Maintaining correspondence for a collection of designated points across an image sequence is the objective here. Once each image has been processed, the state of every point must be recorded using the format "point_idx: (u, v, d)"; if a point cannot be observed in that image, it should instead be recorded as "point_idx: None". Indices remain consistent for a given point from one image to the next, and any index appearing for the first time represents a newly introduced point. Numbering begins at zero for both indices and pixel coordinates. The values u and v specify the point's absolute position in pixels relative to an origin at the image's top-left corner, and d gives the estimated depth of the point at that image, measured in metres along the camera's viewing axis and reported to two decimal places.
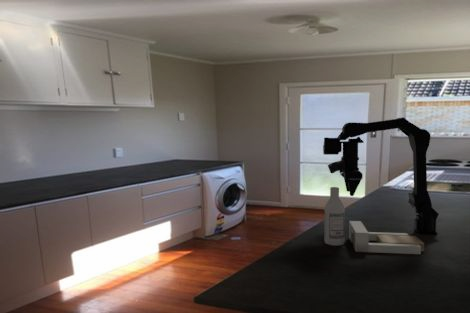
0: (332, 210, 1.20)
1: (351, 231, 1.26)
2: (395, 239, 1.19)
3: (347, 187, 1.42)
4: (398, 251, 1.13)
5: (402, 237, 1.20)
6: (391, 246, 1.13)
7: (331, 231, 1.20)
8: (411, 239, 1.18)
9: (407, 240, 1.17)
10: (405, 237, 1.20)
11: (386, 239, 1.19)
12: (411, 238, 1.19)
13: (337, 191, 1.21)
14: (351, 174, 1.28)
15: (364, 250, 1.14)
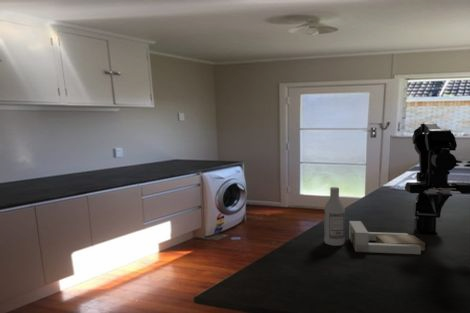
0: (332, 210, 1.20)
1: (351, 231, 1.26)
2: (395, 239, 1.19)
3: None
4: (398, 251, 1.13)
5: (401, 237, 1.21)
6: (391, 246, 1.13)
7: (331, 231, 1.20)
8: (411, 239, 1.18)
9: (407, 240, 1.18)
10: (404, 237, 1.21)
11: (387, 239, 1.19)
12: (410, 237, 1.20)
13: (337, 191, 1.21)
14: (406, 185, 1.18)
15: (364, 250, 1.14)
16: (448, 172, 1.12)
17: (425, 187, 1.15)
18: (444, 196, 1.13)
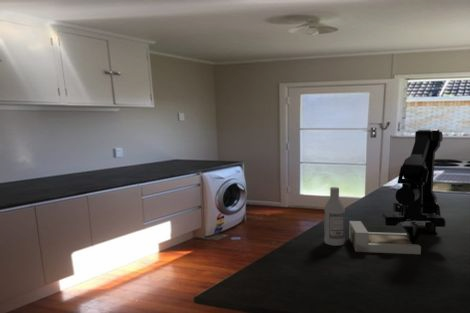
0: (332, 210, 1.20)
1: (351, 231, 1.26)
2: (383, 239, 1.20)
3: None
4: (398, 251, 1.13)
5: (391, 237, 1.21)
6: (391, 246, 1.13)
7: (331, 231, 1.20)
8: (399, 239, 1.19)
9: (395, 240, 1.18)
10: (394, 237, 1.21)
11: (375, 239, 1.20)
12: (400, 238, 1.20)
13: (337, 191, 1.21)
14: (382, 217, 1.20)
15: (364, 250, 1.14)
16: (422, 205, 1.14)
17: (400, 219, 1.18)
18: (418, 229, 1.15)
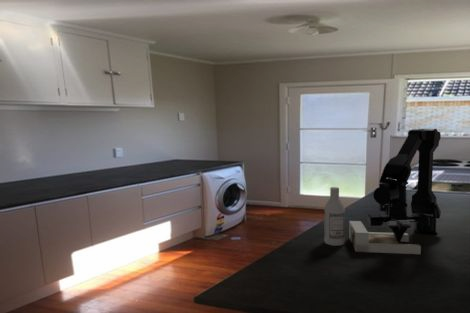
0: (332, 210, 1.20)
1: (351, 231, 1.26)
2: (370, 238, 1.20)
3: None
4: (398, 251, 1.13)
5: (378, 236, 1.22)
6: (391, 246, 1.13)
7: (331, 231, 1.20)
8: (386, 238, 1.19)
9: (382, 239, 1.18)
10: (381, 236, 1.21)
11: None
12: (387, 237, 1.20)
13: (337, 191, 1.21)
14: (368, 217, 1.21)
15: (364, 250, 1.14)
16: (406, 204, 1.15)
17: (385, 219, 1.19)
18: (402, 228, 1.16)
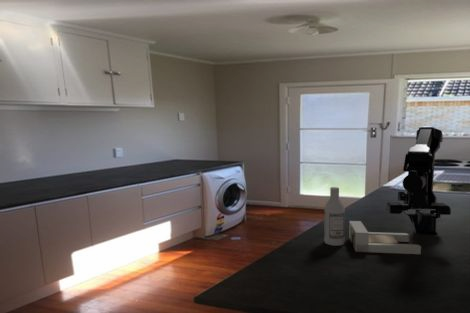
0: (332, 210, 1.20)
1: (351, 231, 1.26)
2: (370, 238, 1.20)
3: None
4: (398, 251, 1.13)
5: (378, 237, 1.21)
6: (391, 246, 1.13)
7: (331, 231, 1.20)
8: (386, 239, 1.19)
9: (382, 239, 1.18)
10: (381, 236, 1.21)
11: None
12: (387, 237, 1.20)
13: (337, 191, 1.21)
14: (387, 205, 1.19)
15: (364, 250, 1.14)
16: (427, 193, 1.13)
17: (405, 207, 1.17)
18: (423, 217, 1.14)
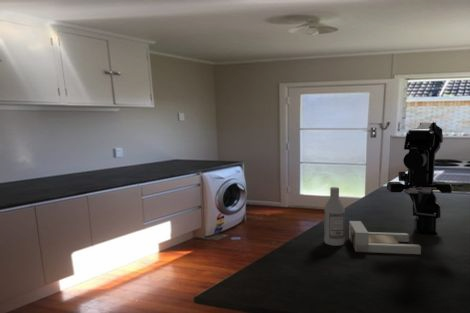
0: (332, 210, 1.20)
1: (351, 231, 1.26)
2: (370, 238, 1.20)
3: None
4: (398, 251, 1.13)
5: (378, 237, 1.21)
6: (391, 246, 1.13)
7: (331, 231, 1.20)
8: (387, 239, 1.19)
9: (383, 240, 1.18)
10: (381, 237, 1.21)
11: None
12: (387, 237, 1.20)
13: (337, 191, 1.21)
14: (388, 185, 1.19)
15: (364, 250, 1.14)
16: (428, 171, 1.13)
17: (406, 186, 1.16)
18: (424, 195, 1.14)
